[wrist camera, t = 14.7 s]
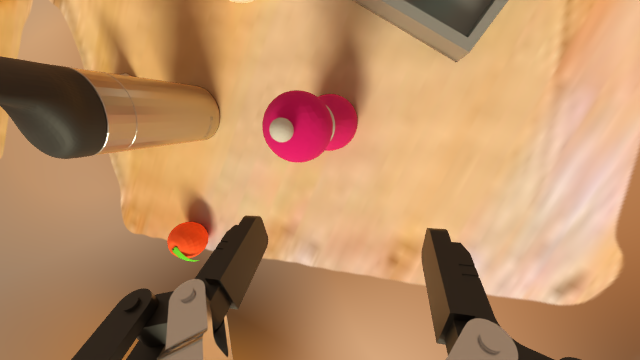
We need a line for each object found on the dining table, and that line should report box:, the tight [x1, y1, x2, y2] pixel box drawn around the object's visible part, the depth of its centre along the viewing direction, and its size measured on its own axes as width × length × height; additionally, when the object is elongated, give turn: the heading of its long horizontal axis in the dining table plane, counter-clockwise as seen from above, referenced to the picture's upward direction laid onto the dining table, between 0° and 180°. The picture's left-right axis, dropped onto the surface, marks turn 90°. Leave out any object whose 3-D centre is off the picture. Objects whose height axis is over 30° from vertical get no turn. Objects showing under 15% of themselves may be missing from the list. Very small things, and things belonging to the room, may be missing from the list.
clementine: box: [167, 222, 208, 261], centre depth 45 cm, size 8×7×7 cm
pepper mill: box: [263, 90, 357, 162], centre depth 25 cm, size 7×7×20 cm
